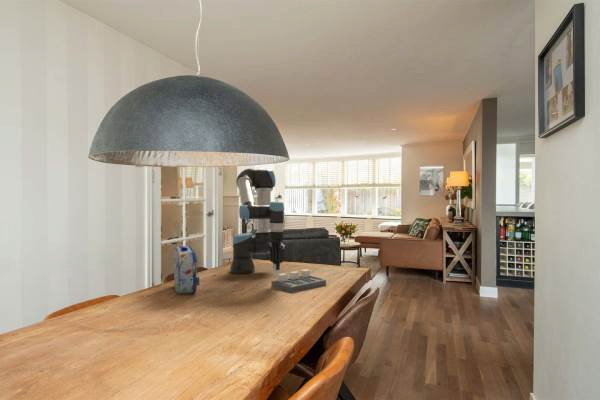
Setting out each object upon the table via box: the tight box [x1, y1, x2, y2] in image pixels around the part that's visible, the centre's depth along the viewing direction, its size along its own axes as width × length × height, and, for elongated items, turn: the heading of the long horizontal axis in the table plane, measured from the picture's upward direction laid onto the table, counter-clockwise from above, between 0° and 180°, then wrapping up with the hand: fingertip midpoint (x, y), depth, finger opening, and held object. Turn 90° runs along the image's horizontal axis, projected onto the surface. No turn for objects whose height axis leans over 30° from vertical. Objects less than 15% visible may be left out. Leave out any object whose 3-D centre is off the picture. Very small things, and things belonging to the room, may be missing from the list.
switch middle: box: [288, 271, 300, 280], centre depth 185 cm, size 3×4×4 cm
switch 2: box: [300, 268, 311, 277], centre depth 191 cm, size 3×4×4 cm
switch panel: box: [271, 275, 327, 293], centre depth 182 cm, size 16×24×3 cm, turn 131°
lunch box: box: [173, 245, 201, 295], centre depth 172 cm, size 28×10×22 cm, turn 25°
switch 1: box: [276, 272, 288, 282], centre depth 180 cm, size 3×4×4 cm
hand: (276, 275), depth 184 cm, fingers closed
